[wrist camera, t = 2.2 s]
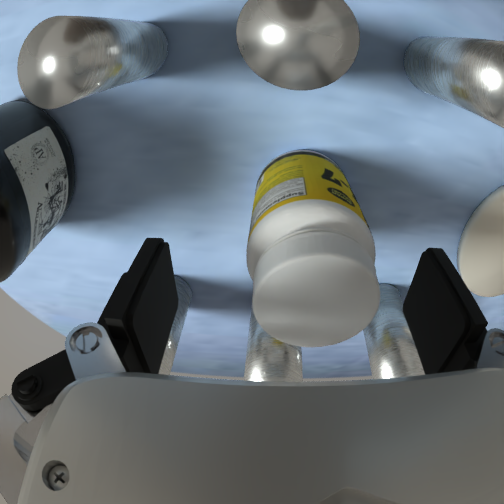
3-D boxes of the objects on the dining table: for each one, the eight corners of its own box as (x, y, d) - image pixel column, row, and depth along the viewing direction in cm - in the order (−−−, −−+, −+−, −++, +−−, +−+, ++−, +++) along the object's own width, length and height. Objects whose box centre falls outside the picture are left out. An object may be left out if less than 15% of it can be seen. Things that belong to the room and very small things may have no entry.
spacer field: (457, 46, 11) (552, 62, 5) (392, 315, 21) (415, 399, 15) (110, 28, 12) (15, 32, 6) (154, 305, 22) (123, 387, 16)
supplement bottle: (361, 204, 16) (410, 322, 10) (287, 243, 18) (290, 370, 11) (317, 129, 14) (355, 213, 8) (237, 178, 16) (206, 290, 9)
